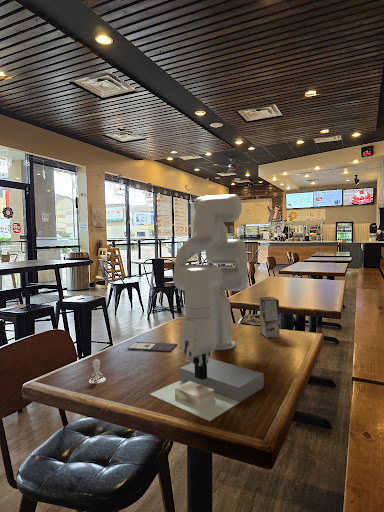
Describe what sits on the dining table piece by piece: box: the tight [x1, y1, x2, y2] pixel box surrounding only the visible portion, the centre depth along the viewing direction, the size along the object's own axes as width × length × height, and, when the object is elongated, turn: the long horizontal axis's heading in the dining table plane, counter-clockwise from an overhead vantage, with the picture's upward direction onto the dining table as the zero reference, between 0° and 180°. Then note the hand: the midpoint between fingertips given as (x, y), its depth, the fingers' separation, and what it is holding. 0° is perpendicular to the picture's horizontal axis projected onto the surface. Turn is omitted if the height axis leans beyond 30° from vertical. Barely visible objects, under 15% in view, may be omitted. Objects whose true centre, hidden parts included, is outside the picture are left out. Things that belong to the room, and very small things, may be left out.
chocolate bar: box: [127, 341, 178, 353], centre depth 139 cm, size 9×1×18 cm
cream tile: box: [175, 381, 215, 407], centre depth 93 cm, size 9×6×2 cm, turn 47°
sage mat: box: [149, 379, 239, 422], centre depth 93 cm, size 22×12×1 cm, turn 47°
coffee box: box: [258, 296, 281, 339], centre depth 150 cm, size 9×6×16 cm
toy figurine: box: [88, 356, 107, 385], centre depth 106 cm, size 5×8×7 cm, turn 175°
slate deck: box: [179, 357, 265, 404], centre depth 102 cm, size 22×12×4 cm, turn 47°
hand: (201, 377), depth 95 cm, fingers closed
